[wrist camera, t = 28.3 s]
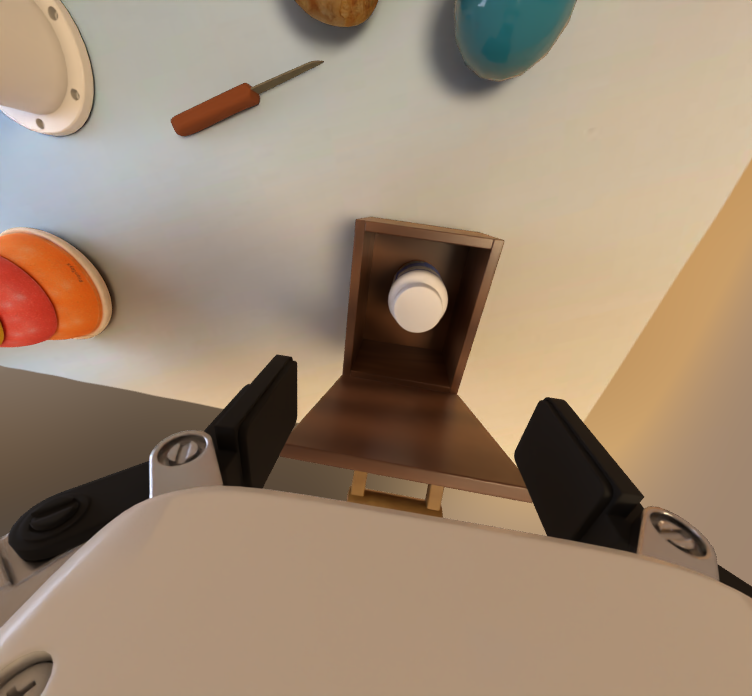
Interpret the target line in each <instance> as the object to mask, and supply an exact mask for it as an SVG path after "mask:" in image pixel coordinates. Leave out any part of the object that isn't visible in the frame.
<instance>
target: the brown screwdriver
mask: <svg viewBox="0 0 752 696" xmlns="http://www.w3.org/2000/svg"><path fill="white" fill-rule="evenodd" d="M323 62H324V61H311V62H308V63H306V64H304V65H301V66H299V67H297V68H295V69H292V70H290V71H288V72H285V73H283V74H281V75H279V76H276V77H274V78H272V79H269V80H267V81H265V82H263V83H260V84H258V85H256V86H254V87H251V86H250V85H249V84H247V83H243V84H241V85H239V86H237V87H234V88H232V89H230V90H228V91H226V92H224V93H222V94H220V95H218V96H215V97H213V98H211V99H209V100H207V101H205V102H203V103H201V104H199V105H197V106H195V107H193V108H191V109H189V110H186V111H184V112H182V113H180V114H178V115H176V116H174V117H173V118H172V119H171V123H172V126H173V128H174V130H175V132H176V133H177V134H178V135H180V136H187V135H191V134H194V133H196V132H198V131H201V130H203V129H205V128H207V127H209V126H211V125H213V124H215V123H217V122H219V121H221V120H223V119H225V118H227V117H229V116H231V115H233V114H236V113H238V112H240V111H242V110H244V109H247V108H249V107H252V106H255V105H257V104H259V101H260V96H259V94H260V93H262V92H265V91H267V90H269V89H271V88H273V87H275V86H277V85H279V84H281V83H283V82H285V81H287V80H290V79H292V78H294V77H296V76H298V75H300V74H302V73H304V72H306V71H308V70H310V69H312V68H314V67H316V66H318V65H320V64H321V63H323Z"/></svg>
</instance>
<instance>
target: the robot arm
mask: <svg viewBox="0 0 752 696" xmlns="http://www.w3.org/2000/svg"><path fill="white" fill-rule="evenodd" d="M93 95H94V90H93V76H92V70H91V64H90V60H89V57H88V54H87V51H86V47H85V44H84V42H83V40H82V38H81V35H80V33H79V31H78V28H77V26H76V25H75V23H74V21H73V19H72V18H71V16H70V14H69V12H68V11H67V9H66V8H65V6H64V5H63V4H62V2H61V1H60V0H0V110H1V111H2V112H4V113H5V114H6V115H7V116H8V117H10V118H11V119H13V120H14V121H15V122H17V123H18V124H20V125H22V126H24V127H26V128H28V129H30V130H32V131H36V132H39V133H43V134H48V135H54V136H64V135H68V134H71V133H74V132H76V131H77V130H78V129H80V128H81V127H82V126H83V125H84V123H85V122H86V120H87V119H88V117H89V114H90V111H91V108H92V102H93ZM296 420H297V362H296V361H293V359H292V357H289V356H283V355H276V356H275V357H274V358H273V359H272V360H271V361H270V362H269V364H268V365H267V366H266V367H265V368H264V369H263V370H262V371H261V373H260V374H259V375H258V376H257V377H256V378H255V379H254V381H253V382H252V383H251V384H248V385H246V386H244V387H243V388H242V390H241V391H240V392H239V393H238V394H237V395H236V396H235V397H234V398H233V399H232V401H231V402H230V403H229V404H228V405H227V406H226V407H225V408H224V409H223V411H222V412H221V413H220V414H219V415H218V416H217V417H216V418H215V420H214V421H213V422H212V423H211V424H210V425H209V426H208V427H207V428H206V429H205V431H204V432H203V431H199V430H188V431H184V432H179V433H176V434H174V435H171V436H169V437H167V438H166V439H164V440H162V441H161V442H160V443H159V444H158V445H156V447H155V448H154V449H153V451H152V452H151V455H150V461H148V462H145V463H142V464H139V465H136V466H134V467H131V468H129V469H125V470H122V471H120V472H117V473H114V474H111V475H108V476H106V477H103V478H100V479H98V480H94V481H92V482H89V483H86V484H83V485H80V486H78V487H75V488H72V489H69V490H66V491H64V492H61V493H58V494H56V495H54V496H51V497H49V498H47V499H46V500H43V501H42V502H40V503H38V504H37V505H35V506H33V507H32V508H31V509H30V510H28V511H27V512H26V513H25V514H23V515H22V516H21V517H20V518H19V519H18V521H17V522H16V523H15V524H14V525H13V527H12V529H11V531H10V533H9V534H7V535H5V536H4V537H1V538H0V696H752V586H750V585H749V584H747V583H746V582H744V581H742V580H741V579H739V578H738V577H736V576H735V575H733V574H732V573H730V572H729V571H727V570H725V569H724V568H722V567H721V566H719V565H718V564H717V556H716V553H715V551H714V548H713V547H712V545H711V544H710V543H709V541H708V540H707V539H706V538H705V537H704V536H703V535H702V533H700V532H699V530H697V529H696V528H695V527H693V526H692V525H691V524H690V523H689V522H687V521H686V520H684V519H683V518H681V517H679V516H678V515H676V514H674V513H672V512H670V511H668V510H665V509H662V508H659V507H652V506H650V507H647V508H645V509H644V508H643V507H642V505H641V504H640V501H641V500H642V499H643V498H644V496H643V495H642V494H641V492H640V491H639V490H638V489H637V487H636V486H635V485H634V484H633V483H632V482H631V480H630V479H629V478H628V476H627V475H626V474H625V473H624V472H623V470H622V469H621V468H620V467H619V466H618V464H617V463H616V462H615V461H614V459H613V458H612V457H611V456H610V455H609V453H608V452H607V451H606V450H605V448H604V447H603V446H602V445H601V444H600V443H599V441H598V440H597V439H596V437H595V436H594V435H593V434H592V433H591V432H590V430H589V429H588V428H587V427H586V425H585V424H584V423H583V422H582V420H581V419H580V418H579V417H578V416H577V414H576V413H575V412H574V411H573V409H572V408H571V407H570V406H569V405H568V403H567V402H566V401H565V400H562V399H556V398H549V397H547V398H545V399H544V400H541V401H539V403H538V404H537V406H536V408H535V411H534V413H533V415H532V417H531V419H530V421H529V423H528V425H527V427H526V429H525V431H524V433H523V435H522V437H521V440H520V442H519V444H518V446H517V448H516V450H515V453H514V458H515V462H516V464H517V467H518V469H519V471H520V474H521V476H522V478H523V481H524V483H525V485H526V488H527V490H528V492H529V495H530V497H531V499H532V502H533V504H534V506H535V509H536V511H537V513H538V515H539V518H540V520H541V522H542V525H543V527H544V529H545V532H546V534H547V536H543V535H538V534H532V533H526V532H521V531H515V530H509V529H503V528H498V527H493V526H487V525H481V524H475V523H470V522H464V521H458V520H452V519H446V518H441V517H435V516H429V515H423V514H417V513H411V512H406V511H400V510H394V509H388V508H382V507H376V506H370V505H364V504H358V503H352V502H346V501H339V500H333V499H328V498H322V497H316V496H309V495H302V494H295V493H289V492H282V491H275V490H269V489H262V488H263V486H264V484H265V482H266V480H267V478H268V476H269V474H270V472H271V470H272V469H273V467H274V465H275V463H276V461H277V459H278V457H279V455H280V453H281V451H282V449H283V447H284V445H285V443H286V441H287V439H288V437H289V435H290V433H291V431H292V429H293V428H294V426H295V423H296Z"/></svg>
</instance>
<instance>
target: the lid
mask: <svg viewBox="0 0 752 696" xmlns="http://www.w3.org/2000/svg"><path fill="white" fill-rule="evenodd" d="M280 457H286V458H291V459H296V460H301V461H307V462H313V463H318V464H324V465H328V466H334V467H339V468H345V469H350V470H354V475H353V481H352V486H350V487H349V490H348V494H347V499H346V502H352V503H358V504H364V505H370V506H376V507H382V508H388V509H394V510H400V511H406V512H411V513H417V514H423V515H429V516H435V517H441V518H443V514H442V507H441V500H442V495H443V490H444V487H448V488H453V489H458V490H464V491H469V492H474V493H480V494H485V495H491V496H496V497H502V498H507V499H512V500H518V501H524V502H529V503H532V499H531V497H530V495H529V492H528V490H527V488H526V485H525V483H524V481H523V478H522V476H521V474H520V471H519V469H518V468H517V467H516V465H515V464H514V463H513V462H512V460H511V459H510V458H509V457H508V456H507V454H506V453H505V452H504V451H503V449H502V448H501V447H500V446H499V445H498V443H497V442H496V441H495V440H494V439H493V437H492V436H491V435H490V434H489V432H488V431H487V430H486V429H485V428H484V426H483V425H482V424H481V423H480V421H479V420H478V419H477V418H476V417H475V415H474V414H473V413H472V412H471V410H470V409H469V408H468V407H467V406H466V404H465V403H464V402H463V401H462V399H461V398H460V397H459V396H458V395H457V394H451V393H445V392H439V391H433V390H427V389H421V388H415V387H409V386H404V385H398V384H392V383H386V382H380V381H374V380H368V379H362V378H356V377H350V376H345V375H342V376H341V377H340V378H339V379H338V380H337V381H336V383H335V384H334V385H333V386H332V387H331V388H330V389H329V390H328V391H327V393H326V394H325V395H324V396H323V397H322V398H321V399H320V400H319V401H318V403H317V404H316V405H315V406H314V407H313V408H312V409H311V410H310V412H309V413H308V414H307V415H306V416H305V417H304V418H303V419H302V420H301V422H300V423H299V424H298V425H297V426H296V427H295V428H294V429H293V430H292V432H291V433H290V435H289V437H288V439H287V441H286V443H285V445H284V447H283V449H282V451H281V453H280ZM367 473H372V474H377V475H383V476H388V477H394V478H399V479H405V480H410V481H415V482H420V483H426V484H428V488H427V494H426V499H425V500H424V499H419V498H414V497H409V496H403V495H398V494H392V493H387V492H382V491H376V490H371V489H366V488H365V485H366V479H367Z"/></svg>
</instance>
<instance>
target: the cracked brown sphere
mask: <svg viewBox="0 0 752 696" xmlns="http://www.w3.org/2000/svg"><path fill="white" fill-rule="evenodd" d="M295 2H296V3H297V4H298V5H299V6H300V7H301V8H302V9H303V10H304V11H305V12H306V13H307V14H309V15H310V16H311V17H313V18H315V19H317V20H319V21H321V22H323V23H326V24H329V25H333V26H338V27H350V26H355V25H359V24H361V23H363V22H364V21H366V20H367V19H368V18H369V17H370V16H371V14H372V13H373V11H374V9H375V7H376V5H377V3H378V0H295Z"/></svg>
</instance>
